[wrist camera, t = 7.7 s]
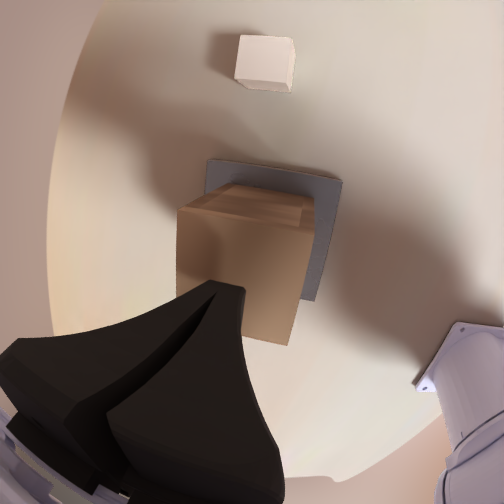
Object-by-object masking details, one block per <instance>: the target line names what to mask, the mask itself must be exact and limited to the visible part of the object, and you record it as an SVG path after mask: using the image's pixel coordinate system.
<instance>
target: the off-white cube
mask: <svg viewBox="0 0 504 504" xmlns="http://www.w3.org/2000/svg"><path fill="white" fill-rule="evenodd" d="M295 57H296V53H295V49H294V45H293V40H292V38H288V37H276V36H260V35H241V36H240V42H239V48H238V55H237V61H236V68H235V75H234V79H235V80H237V81H238V82H239V83H241V84H242V85H243V86H245V87H246V88H247V89H258V90H269V91H278V92H286V93H291V88H292V81H293V73H294V65H295Z"/></svg>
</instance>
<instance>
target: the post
mask: <svg viewBox="0 0 504 504" xmlns="http://www.w3.org/2000/svg"><path fill="white" fill-rule="evenodd" d="M226 183H230V184H236V185H243V186H249V187H255V188H261V189H267V190H273V191H279V192H284V193H290V194H295V195H300V196H305V197H310V198H314V212H315V236H314V240H313V245H312V250H311V254H310V258H309V263H308V267H307V271H306V275H305V280H304V284H303V288H302V292H301V296H300V299H304V300H309V301H314V300H315V297H316V293H317V290H318V286H319V282H320V278H321V275H322V271H323V267H324V263H325V259H326V255H327V251H328V247H329V243H330V238H331V234H332V230H333V225H334V221H335V216H336V212H337V207H338V202H339V197H340V192H341V187H342V181H341V180H338V179H334V178H329V177H324V176H319V175H314V174H309V173H304V172H298V171H293V170H287V169H281V168H275V167H269V166H262V165H255V164H248V163H241V162H233V161H225V160H217V159H210V160H208V161H207V172H206V183H205V195H206V194H207V193H209V192H211V191H213V190H215V189H217V188H219V187H221V186H223V185H225V184H226Z"/></svg>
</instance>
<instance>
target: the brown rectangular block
mask: <svg viewBox="0 0 504 504" xmlns="http://www.w3.org/2000/svg"><path fill="white" fill-rule="evenodd" d="M314 236H315V212H314V198H310V197H305V196H300V195H295V194H290V193H284V192H279V191H273V190H267V189H261V188H255V187H249V186H243V185H236V184H230V183H226V184H225V185H223V186H221V187H219V188H217V189H215V190H213V191H211V192H209V193H207V194H206V195H204V196H202V197H200V198H198V199H196V200H195V201H193V202H191V203H189V204H187V205H185V206H184V207H182V208H180V209H178V210H177V237H176V298H177V297H179V296H181V295H183V294H184V293H186V292H188V291H190V290H192V289H193V288H195V287H197V286H199V285H200V284H202V283H204V282H206V281H208V280H210V279H211V280H215V281H219V282H224V283H228V284H232V285H237V286H241V287H244V288H245V290H246V296H245V304H244V311H243V319H242V326H241V336H245V337H249V338H253V339H258V340H262V341H267V342H271V343H276V344H281V345H285V346H287V345H288V341H289V338H290V334H291V330H292V327H293V323H294V319H295V315H296V312H297V308H298V304H299V300H300V296H301V292H302V288H303V284H304V280H305V275H306V271H307V267H308V263H309V258H310V254H311V250H312V245H313V240H314Z"/></svg>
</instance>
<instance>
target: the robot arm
mask: <svg viewBox="0 0 504 504" xmlns="http://www.w3.org/2000/svg"><path fill="white" fill-rule="evenodd" d="M245 296H246V290H245V288H244V287H241V286H237V285H232V284H228V283H224V282H219V281H215V280H211V279H210V280H208V281H206V282H204V283H202V284H200V285H199V286H197V287H195V288H193V289H192V290H190V291H188V292H186V293H184V294H183V295H181V296H179V297H177V298H175V299H173V300H172V301H170V302H168V303H165V304H163V305H161V306H159V307H157V308H155V309H153V310H151V311H149V312H147V313H144V314H142V315H139V316H137V317H134V318H132V319H129V320H126V321H123V322H120V323H117V324H114V325H110V326H107V327H103V328H99V329H95V330H91V331H87V332H82V333H76V334H71V335H63V336H55V337H43V338H42V337H41V338H18V339H17V340H16V341H14V342H13V343H12V344H11V345H10V346H9V347H8V348H7V349H6V350H5V351H4V352H3V353H2V354H1V355H0V386H1V388H2V389H3V391H4V392H5V394H6V395H7V397H8V398H9V399H10V401H11V402H12V403H13V405H14V406H15V408H16V409H17V410H18V412H17V413H16V415H15V416H14V417H13V418H11V417H10V416H9V415H8V414H7V413H6V412H5V411H4V410H3V409H2V408H1V407H0V504H63V503H62V502H60V501H59V500H57V499H56V498H54V497H53V496H52V495H50V494H49V493H50V491H51V490H52V488H53V487H54V486H53V484H52V483H51V482H50V481H48V480H47V479H46V478H45V477H43V476H42V475H41V474H40V473H39V472H37V471H36V470H35V469H34V468H33V467H31V466H30V465H29V464H28V463H27V462H26V461H24V460H23V459H22V458H21V457H20V456H19V455H18V454H17V453H16V451H15V444H16V445H17V446H18V447H19V448H21V450H22V451H23V452H25V453H26V454H27V455H28V456H29V457H30V458H31V459H32V460H34V461H35V462H36V463H37V464H38V465H40V466H41V467H42V468H43V469H44V470H46V471H47V472H48V473H50V474H51V475H52V476H53V477H55V478H56V479H58V480H59V481H60V482H62V483H63V484H64V485H66V486H67V487H69V488H70V489H72V490H73V491H74V492H76V493H78V494H79V495H81V496H82V497H84V498H85V499H87V500H88V501H90V502H92V503H93V504H282V503H283V501H284V497H285V482H284V474H283V467H282V462H281V457H280V452H279V448H278V446H277V444H276V442H275V440H274V438H273V436H272V434H271V432H270V430H269V428H268V426H267V424H266V422H265V420H264V417H263V415H262V412H261V410H260V408H259V405H258V402H257V399H256V396H255V393H254V390H253V387H252V384H251V381H250V378H249V374H248V370H247V366H246V362H245V357H244V351H243V345H242V336H241V326H242V319H243V311H244V304H245ZM461 328H462V329H461ZM460 329H461V330H460ZM415 389H416V391H418V392H437V395H438V398H439V401H440V405H441V408H442V412H443V416H444V419H445V423H446V427H447V431H448V435H449V440H450V444H451V448H452V454H451V455H450V456H448V457H447V458H446V459H445V460H446V465H447V468H446V469H445V470H444V471H443V472H442V473H441V474H440V476H439V478H438V482H437V485H436V488H435V492H434V504H504V328H502V327H494V326H486V325H478V324H471V323H463V322H457V323H455V324H454V325H453V326H452V328H451V330H450V332H449V334H448V335H447V337H446V339H445V341H444V342H443V344H442V346H441V348H440V349H439V351H438V353H437V354H436V356H435V357H434V359H433V361H432V362H431V364H430V365H429V367H428V368H427V370H426V371H425V373H424V374H423V376H422V377H421V379H420V380H419V382H418V383H417V385H416V386H415ZM14 443H15V444H14ZM119 493H121V494H123V495H125V496H127V497H130V499H129V500H128V499H126V498H124V497H122V496H120V495H118V494H119Z"/></svg>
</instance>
